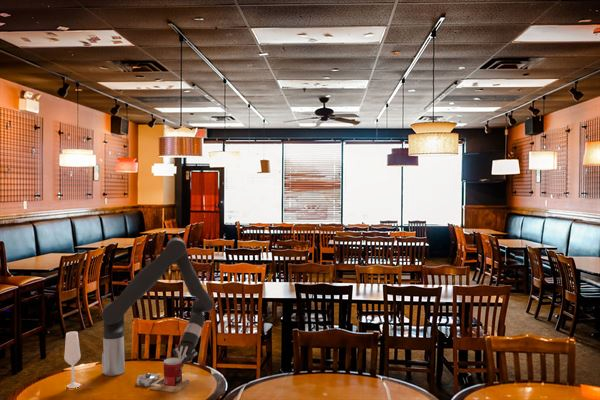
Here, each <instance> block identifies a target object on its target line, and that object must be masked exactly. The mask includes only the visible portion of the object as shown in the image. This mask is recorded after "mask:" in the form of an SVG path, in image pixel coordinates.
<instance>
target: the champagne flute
mask: <svg viewBox="0 0 600 400" xmlns="http://www.w3.org/2000/svg"><path fill="white" fill-rule="evenodd" d="M64 343H65V344H64V346H65V347H64V358H63V359H64V361H65V362H66V364H68V365H70V366H71V370H70V371H71V383H69V384H67V385H66V386H67V387H69V388H75V387H76V389H78V388H77V387H79V386H80V385H81V386H82V383H78V382H76V381H75V380H76V379H75V378H76V377H75V365H76V364H77V363H78V362H79V361H80V359H81V357H82V356H81V349H80V340H79V333H78V331H74V330H73V331H68V332H66V334H65V342H64ZM79 388H80V387H79Z"/></svg>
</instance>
